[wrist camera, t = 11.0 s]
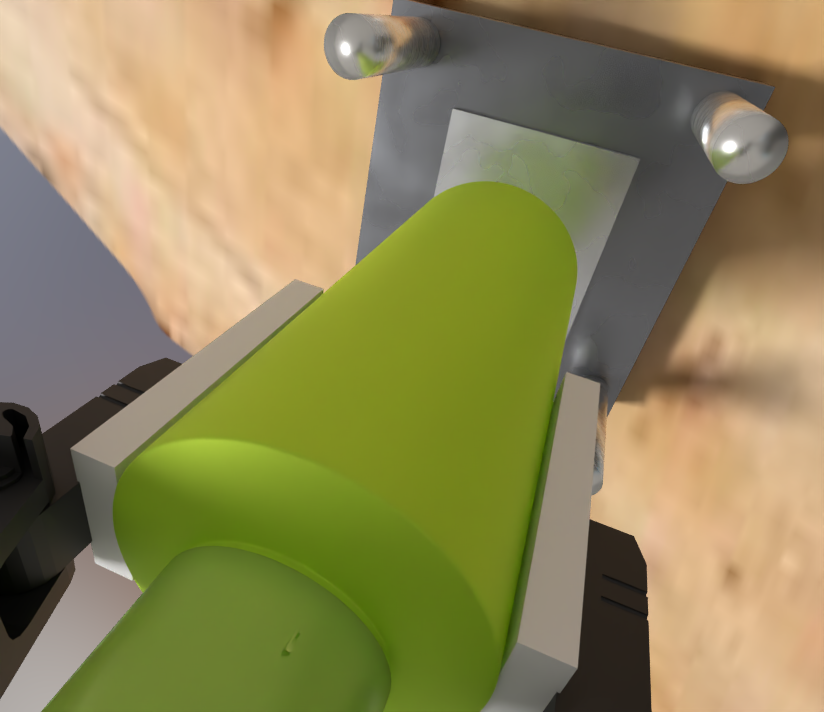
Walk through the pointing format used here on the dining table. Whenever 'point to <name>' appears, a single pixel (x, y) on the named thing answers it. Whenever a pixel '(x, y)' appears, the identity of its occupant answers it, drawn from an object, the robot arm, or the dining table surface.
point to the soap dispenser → (352, 486)
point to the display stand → (559, 155)
